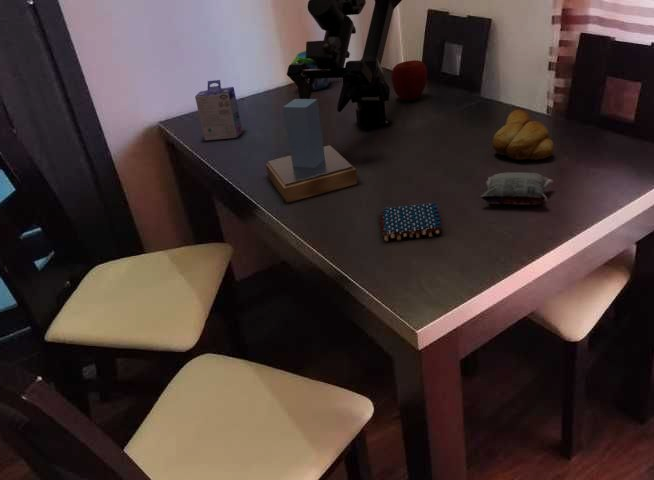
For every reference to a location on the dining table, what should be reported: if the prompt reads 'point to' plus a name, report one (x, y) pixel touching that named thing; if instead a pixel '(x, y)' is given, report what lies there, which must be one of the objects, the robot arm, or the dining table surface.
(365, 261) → the dining table surface
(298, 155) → the packet
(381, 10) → the robot arm
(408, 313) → the dining table surface
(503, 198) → the packaged food
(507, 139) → the bread roll
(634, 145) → the dining table surface
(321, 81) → the snack cup
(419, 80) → the apple
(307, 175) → the stand
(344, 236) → the dining table surface
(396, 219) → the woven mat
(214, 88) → the ink cartridge box
